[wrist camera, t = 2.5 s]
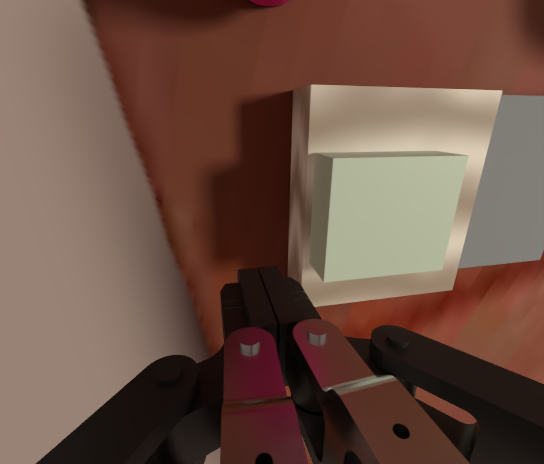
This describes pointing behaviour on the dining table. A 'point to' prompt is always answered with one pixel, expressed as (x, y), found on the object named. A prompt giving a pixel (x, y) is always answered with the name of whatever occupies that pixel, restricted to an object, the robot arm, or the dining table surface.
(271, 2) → the pepper mill
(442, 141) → the block
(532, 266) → the dining table surface
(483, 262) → the slate mat
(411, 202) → the green tile
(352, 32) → the dining table surface
